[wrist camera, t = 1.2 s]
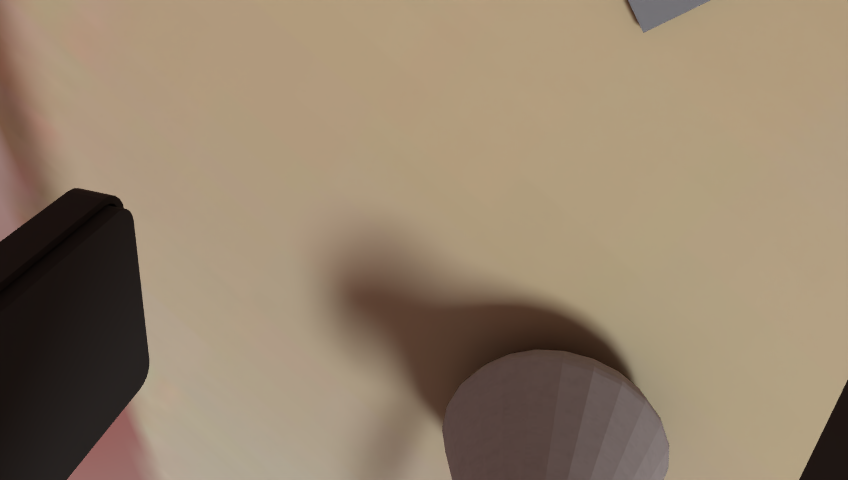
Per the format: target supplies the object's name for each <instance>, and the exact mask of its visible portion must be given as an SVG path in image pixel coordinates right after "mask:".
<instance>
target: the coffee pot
mask: <svg viewBox="0 0 848 480" xmlns="http://www.w3.org/2000/svg"><path fill="white" fill-rule="evenodd" d="M442 431H443V438H444V445H445V452H446V456H447V460H448V464H449V468H450V472H451V476H452V480H664V478H665V475H666V473H667V470H668V461H669V443H668V440H667V437H666V434H665V431H664V428H663V425H662V422H661V419H660V417H659V416H658V414H657V413H656V411H655V410H654V409H653V407H652V406H651V404H650V403H649V402H648V400H647V399H646V397H645V396H644V395H643V393H642V392H641V391H640V389H639V388H638V387H637V386H635V385H634V384H633V383H632V382H631V381H629V380H628V379H627V378H626V377H625V376H623V375H622V374H621V373H620V372H618V371H617V370H615V369H613V368H611V367H609V366H607V365H605V364H603V363H601V362H599V361H597V360H595V359H593V358H589V357H585V356H582V355H578V354H574V353H570V352H566V351H555V350H537V349H536V350H530V351H524V352H518V353H512V354H508V355H506V356H503V357H501V358H499V359H496V360H494V361H492V362H489V363H487V364H486V365H484V366H483V367H481V368H480V369H479V370H477V371H476V372H475V373H474V374H473V375H471V376H470V377H469V378H468V379H466V380H465V381H464V382H463V383H462V384H460V386H459V387H458V389H457V391H456V392H455V394H454V395H453V397H452V399H451V400H450V402H449V403H448V405H447V408H446V413H445V418H444V422H443V430H442Z"/></svg>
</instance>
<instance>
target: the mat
mask: <svg viewBox="0 0 848 480" xmlns="http://www.w3.org/2000/svg"><path fill="white" fill-rule="evenodd" d="M628 1H629V3H630V5H631V8H632V10H633V12H634V14H635V16H636V18H637V20H638V22H639V24H640V26H641V28H642V31H643V33H644V32H646V31H648V30H650V29H652V28H654V27H656V26H658V25H660V24H662V23H665V22H667V21H669V20H671V19H673V18H675V17H677V16H679V15H681V14H683V13H685V12H687V11H689V10H691V9H693V8H695V7H697V6H700V5H702V4H704V3H706V2H708V1H710V0H628Z"/></svg>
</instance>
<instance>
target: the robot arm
mask: <svg viewBox="0 0 848 480" xmlns="http://www.w3.org/2000/svg"><path fill="white" fill-rule="evenodd" d="M148 370H149V353H148V344H147V336H146V327H145V318H144V309H143V300H142V291H141V282H140V273H139V264H138V255H137V246H136V237H135V229H134V220H133V216H132V214H131V212H130V211H129V210H127V209H124V207H123V204H122V202H121V200H120V199H119V198H117V197H116V196H113V195H108V194H103V193H99V192H94V191H89V190H84V189H79V188H74V189H72V190H70V191H68V192H66V193H65V194H64V195H62V196H61V197H60V198H58V199H57V200H56V201H54V202H53V203H52V204H50V205H49V206H48V207H46V208H45V209H44V210H42V211H41V212H40V213H38V214H37V215H35V216H34V217H33V218H31V219H30V220H29V221H27V222H26V223H25V224H23V225H22V226H21V227H19V228H18V229H17V230H15V231H14V232H13V233H11V234H10V235H9V236H7V237H6V238H5V239H3V240H2V241H1V242H0V480H67V479H68V477H69V476H70V475H71V474H72V472H73V471H74V470H75V469H76V467H77V466H78V465H79V464H80V463H81V461H82V460H83V459H84V458H85V456H86V455H87V454H88V453H89V451H90V450H91V449H92V448H93V446H94V445H95V444H96V442H97V441H98V440H99V439H100V438H101V437H102V435H103V434H104V433H105V432H106V430H107V429H108V428H109V427H110V425H111V424H112V423H113V422H114V420H115V419H116V418H117V417H118V416H119V414H120V413H121V412H122V411H123V409H124V408H125V407H126V406H127V404H128V403H129V402H130V401H131V399H132V398H133V397H134V396H135V395H136V393H137V392H138V391H139V390H140V388H141V387H142V385H143V384H144V382H145V379H146V377H147V374H148ZM799 480H848V380H847V383H846V385H845V387H844V389H843V391H842V393H841V395H840V397H839V399H838V401H837V403H836V405H835V407H834V409H833V411H832V413H831V415H830V418H829V420H828V422H827V424H826V426H825V428H824V430H823V432H822V434H821V436H820V438H819V440H818V442H817V444H816V446H815V448H814V450H813V453H812V455H811V457H810V459H809V461H808V463H807V465H806V467H805V469H804V471H803V473H802V475H801V477H800V479H799Z"/></svg>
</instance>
